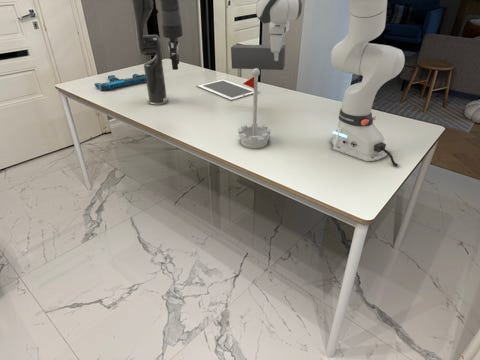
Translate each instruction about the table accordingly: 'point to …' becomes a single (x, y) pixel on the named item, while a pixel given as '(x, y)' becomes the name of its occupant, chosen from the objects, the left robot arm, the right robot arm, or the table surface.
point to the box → (256, 57)
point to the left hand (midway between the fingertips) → (175, 66)
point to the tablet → (227, 89)
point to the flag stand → (254, 121)
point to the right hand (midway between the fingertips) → (277, 58)
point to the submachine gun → (120, 81)
